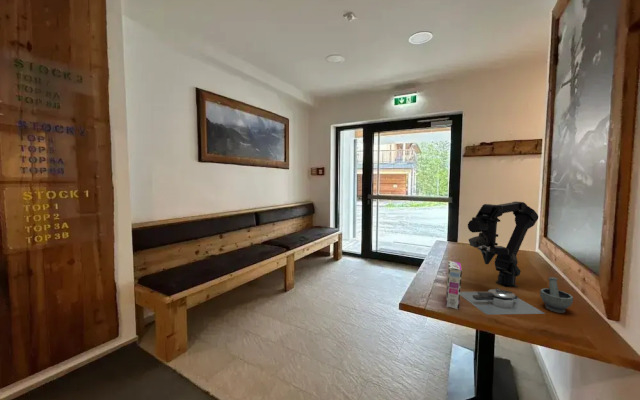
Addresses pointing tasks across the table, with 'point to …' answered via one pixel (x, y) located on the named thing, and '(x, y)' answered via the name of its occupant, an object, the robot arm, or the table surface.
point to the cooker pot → (497, 300)
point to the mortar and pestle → (555, 297)
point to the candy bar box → (453, 285)
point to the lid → (497, 293)
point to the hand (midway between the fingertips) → (486, 264)
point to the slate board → (490, 309)
